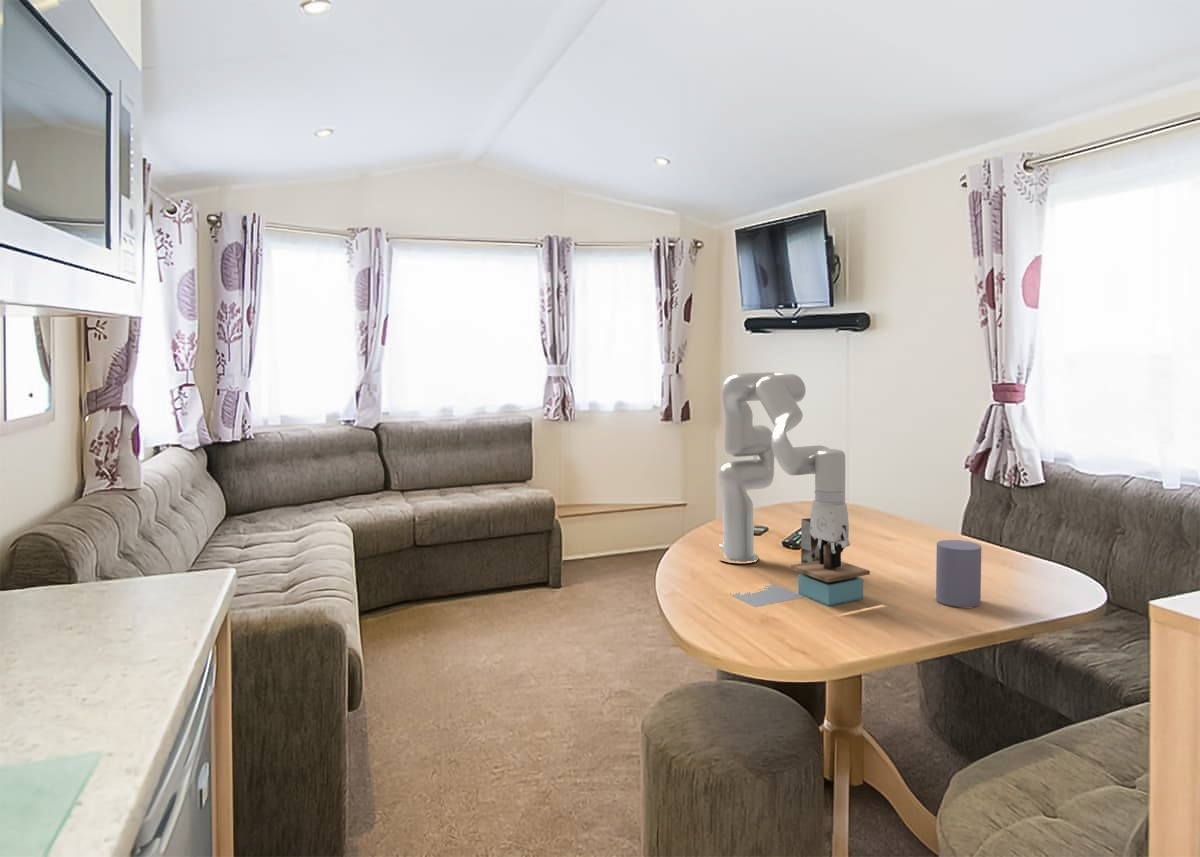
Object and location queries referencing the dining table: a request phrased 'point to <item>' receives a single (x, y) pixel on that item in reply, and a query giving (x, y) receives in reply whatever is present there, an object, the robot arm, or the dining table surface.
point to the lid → (829, 569)
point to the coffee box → (808, 544)
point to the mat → (767, 596)
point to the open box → (830, 590)
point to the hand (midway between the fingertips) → (830, 564)
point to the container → (958, 573)
